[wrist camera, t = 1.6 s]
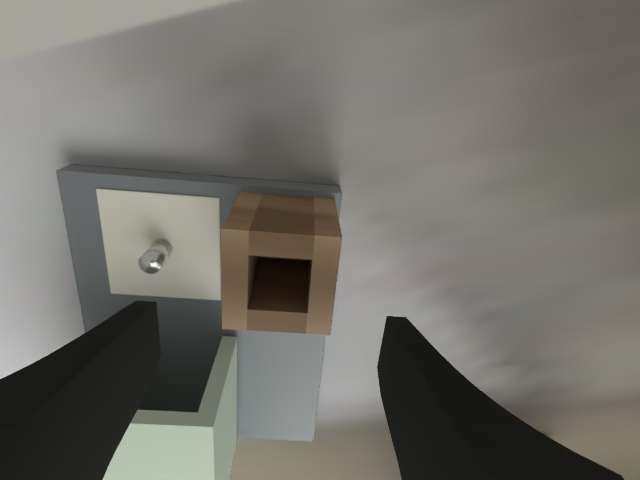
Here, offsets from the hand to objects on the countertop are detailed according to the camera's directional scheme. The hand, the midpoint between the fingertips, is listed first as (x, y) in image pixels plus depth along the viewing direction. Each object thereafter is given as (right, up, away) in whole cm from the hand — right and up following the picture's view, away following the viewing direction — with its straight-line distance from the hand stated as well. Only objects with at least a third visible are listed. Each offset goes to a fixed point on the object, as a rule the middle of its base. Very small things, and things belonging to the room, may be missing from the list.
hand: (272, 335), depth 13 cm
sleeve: (0, +3, +7) cm, 8 cm away
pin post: (-6, +3, +7) cm, 10 cm away
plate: (-5, -1, +10) cm, 11 cm away
